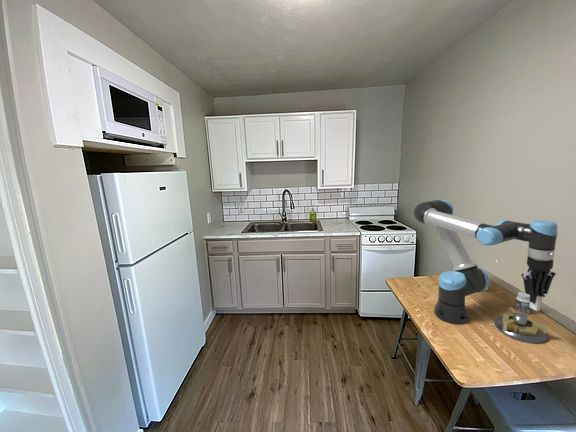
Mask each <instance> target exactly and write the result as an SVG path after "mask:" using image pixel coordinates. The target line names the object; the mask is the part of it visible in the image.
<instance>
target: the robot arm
mask: <svg viewBox="0 0 576 432" xmlns="http://www.w3.org/2000/svg"><path fill="white" fill-rule="evenodd" d="M412 213H413V218H414V219H415V220H416V221H418V222H419V223H421V224H424V225H426V226H432V227H435V229H436V232H437V233H438V235H439V238H440V241H441V242H442V244H443V246H444V247H443V248H445V250H446V253H447V254H448V257H449V259H450V261H451V264H452V266H453V267H452V269H451V271H450V270H447V271H444V272H442V273H440V274H439V276H438V277H439V278H438V299H437V301H436V303H435V305H434V309H433V314H434V315H435V317H437V318H438V319H439V320H440V321H443V322H446V323H448V324H452V325H463V324H467V322H468V321H469V313H468V311H467V307H466V305H465V304H466V297H467V296H470V295H473V294H475V293H480V292H482V291H485V290H484V289H486V288H487V287H488V288H489V284H490V279H489V276H488V274H487V272H486V271H485V270H483V269H482V268H479V266H478V265H477V264H476V263H474V262H472V260H471V258H470V256H469V254H468V252H467V250H466V248H465V246H464V243H463V242H462V241H461V238H460V236H459V234H461V235H465V236H467V237H469V238H472V239H473V238H474V239H477V242H479V243H480V245H481V244H482V245H483V246H495V245H499V244H502V243H505V242H508V241H513V240H516V241H523V242H528V246H527V247H528V248H527V257H526V259H527V260H526V265H527V266H528V269H527V272H525V273H521V277H522V279H523V287H524V293H527V294H529V295H530V308H531V309H532V310H533V311H536V312H537V311H538V312H540V310H541V309H540V308H541V303H542V301H543V300H542V299H543V298H544V297H545V298H546V295H547V294H548V293H549V290H550V287H551V285H552V282H553V279H554V277H556V274H557V273H556V272H555V271H551V270H552V269H553V267H554V258H555V250H556V242H557V237H558V224H557V222H555V221H551V220H543V219H536V220H532V221H530V223H525V222H518V221H512V220H504V219H503V220H498V222H496V224H495V225H491V224H486V223H484V222H479V221H476V220H472V219H468V218H464V217H462V216H457V215H453V214H454V207H453V205H452V203H450V202H449V201H448V200H446V199H435V200H429V201H423V202H420V203H418V204H417V205H416V206H415V207H414V208H413V211H412ZM458 233H459V234H458Z"/></svg>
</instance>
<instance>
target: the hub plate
mask: <svg viewBox="0 0 576 432" xmlns="http://www.w3.org/2000/svg"><path fill="white" fill-rule="evenodd" d="M502 318H503V315H499V316H496V317H495V318H494V321H493V322H494V323H493V324H494V327H495V328H496V329H497V331H499V332H500V333H502V335H504V336H506V337H508V338H511V339H513V340H515V341H518V342H521V343H526V344H527V343H528V344H533V345H534V344H536V345H538V344H543V343H545V342H547V339H548V333H547V334H546V335H545V334H542V333H539V332H538V333H537V335H536V336H530V335H521V334H518V333H515V332H513V331H511V330H508V331H506V330H504V329H503V324H502ZM527 327H529V326H528V325H527Z"/></svg>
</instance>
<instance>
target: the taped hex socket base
mask: <svg viewBox="0 0 576 432" xmlns="http://www.w3.org/2000/svg"><path fill="white" fill-rule="evenodd" d="M507 308H508V309H507V312H506V313H503V315H502V316H503V318H502V324H503V329H504V330H506V331H508V330H511V331H513V332H515V333H518V334H521V335H530V336H536V335H537V333H538V332H539V333H542V334H545V335H546V334H547V335H548V325H549V324H544V323H541V322H538V321H535V320H533V319H532V318H530V317H528V319H527V325H528V326H529V327H522V326H518V325H516V324H515V321H514V320H513V319H514V313H518V312H517V311H516V310H515V308H514V307H507Z"/></svg>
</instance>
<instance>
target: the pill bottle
mask: <svg viewBox="0 0 576 432" xmlns="http://www.w3.org/2000/svg"><path fill="white" fill-rule="evenodd" d="M515 298H516V299H515V305H514V306H515V307H514V310H515V311H516V312H517V313H521V314H524V315H528V314H530V313H531V309H532V308H530V295H529V294H527V293H525V291H523V292H522V291H519V292H518V293H517V296H516V297H515Z"/></svg>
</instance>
